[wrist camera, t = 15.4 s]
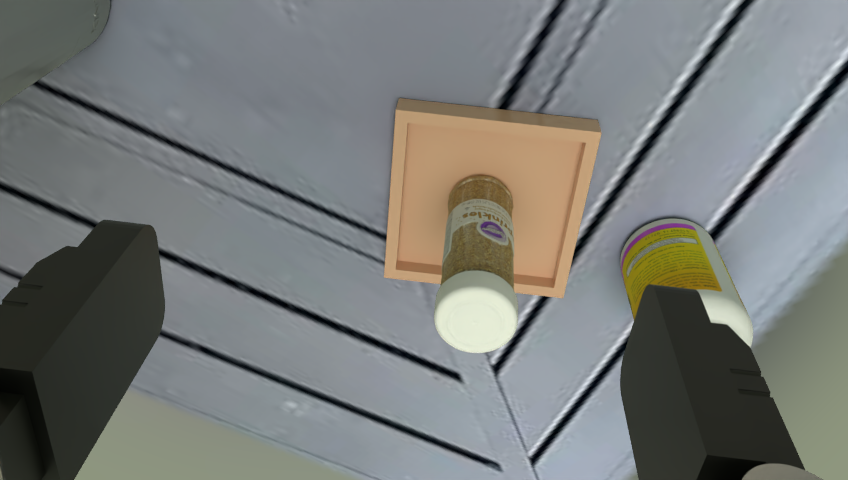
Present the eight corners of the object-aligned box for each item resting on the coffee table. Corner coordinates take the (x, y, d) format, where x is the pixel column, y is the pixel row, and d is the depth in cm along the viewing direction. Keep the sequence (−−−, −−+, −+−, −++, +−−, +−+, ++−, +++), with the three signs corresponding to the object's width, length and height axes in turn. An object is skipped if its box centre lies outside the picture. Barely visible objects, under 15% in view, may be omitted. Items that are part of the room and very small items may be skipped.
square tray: (387, 262, 56) (384, 277, 54) (399, 97, 49) (395, 109, 47) (561, 282, 55) (563, 298, 54) (597, 120, 48) (601, 132, 47)
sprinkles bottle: (519, 179, 50) (527, 298, 39) (504, 235, 53) (507, 363, 41) (453, 167, 50) (441, 282, 39) (441, 224, 53) (426, 348, 41)
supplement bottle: (598, 258, 54) (625, 380, 43) (669, 197, 51) (716, 312, 40) (663, 307, 56) (704, 436, 45) (734, 251, 53) (797, 374, 42)
